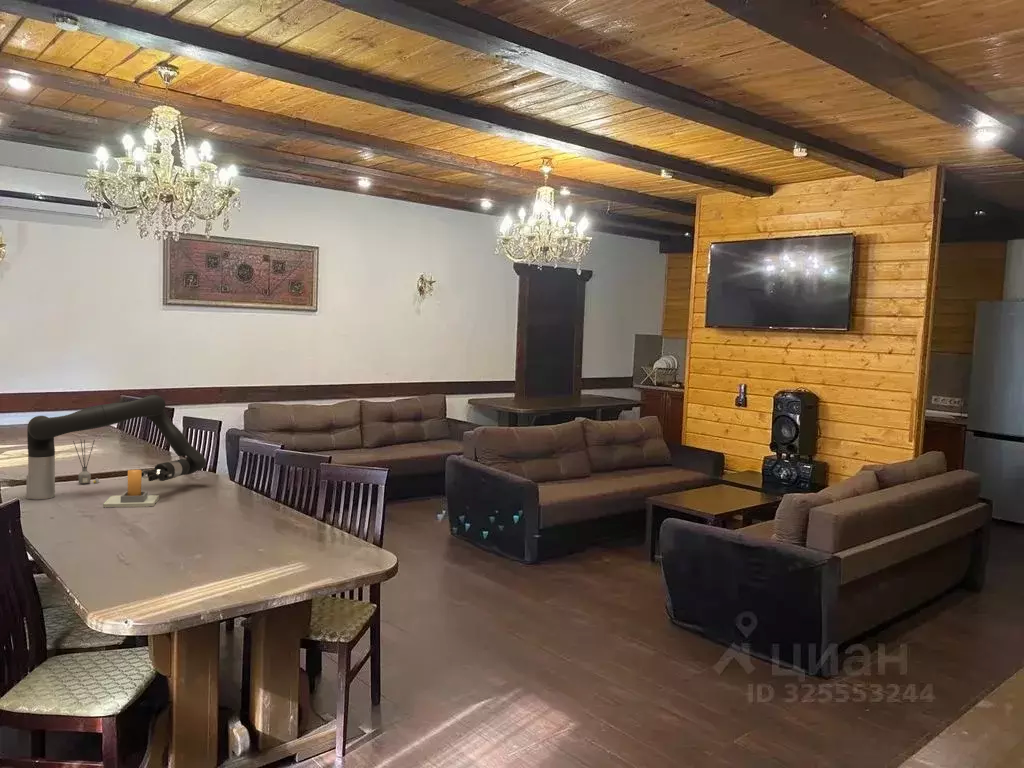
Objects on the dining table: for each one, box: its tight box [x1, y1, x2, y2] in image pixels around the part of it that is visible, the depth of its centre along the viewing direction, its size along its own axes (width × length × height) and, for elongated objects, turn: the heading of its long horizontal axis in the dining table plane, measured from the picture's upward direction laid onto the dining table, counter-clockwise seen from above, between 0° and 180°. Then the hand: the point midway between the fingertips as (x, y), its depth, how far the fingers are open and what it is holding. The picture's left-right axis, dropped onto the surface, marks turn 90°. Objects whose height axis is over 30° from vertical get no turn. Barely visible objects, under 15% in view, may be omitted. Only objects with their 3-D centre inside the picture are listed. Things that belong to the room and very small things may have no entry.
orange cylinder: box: [127, 469, 143, 496], centre depth 303 cm, size 5×5×12 cm
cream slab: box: [102, 490, 160, 509], centre depth 304 cm, size 18×14×4 cm
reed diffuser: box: [72, 439, 100, 484], centre depth 334 cm, size 10×7×20 cm
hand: (140, 477), depth 306 cm, fingers open, 8 cm apart
